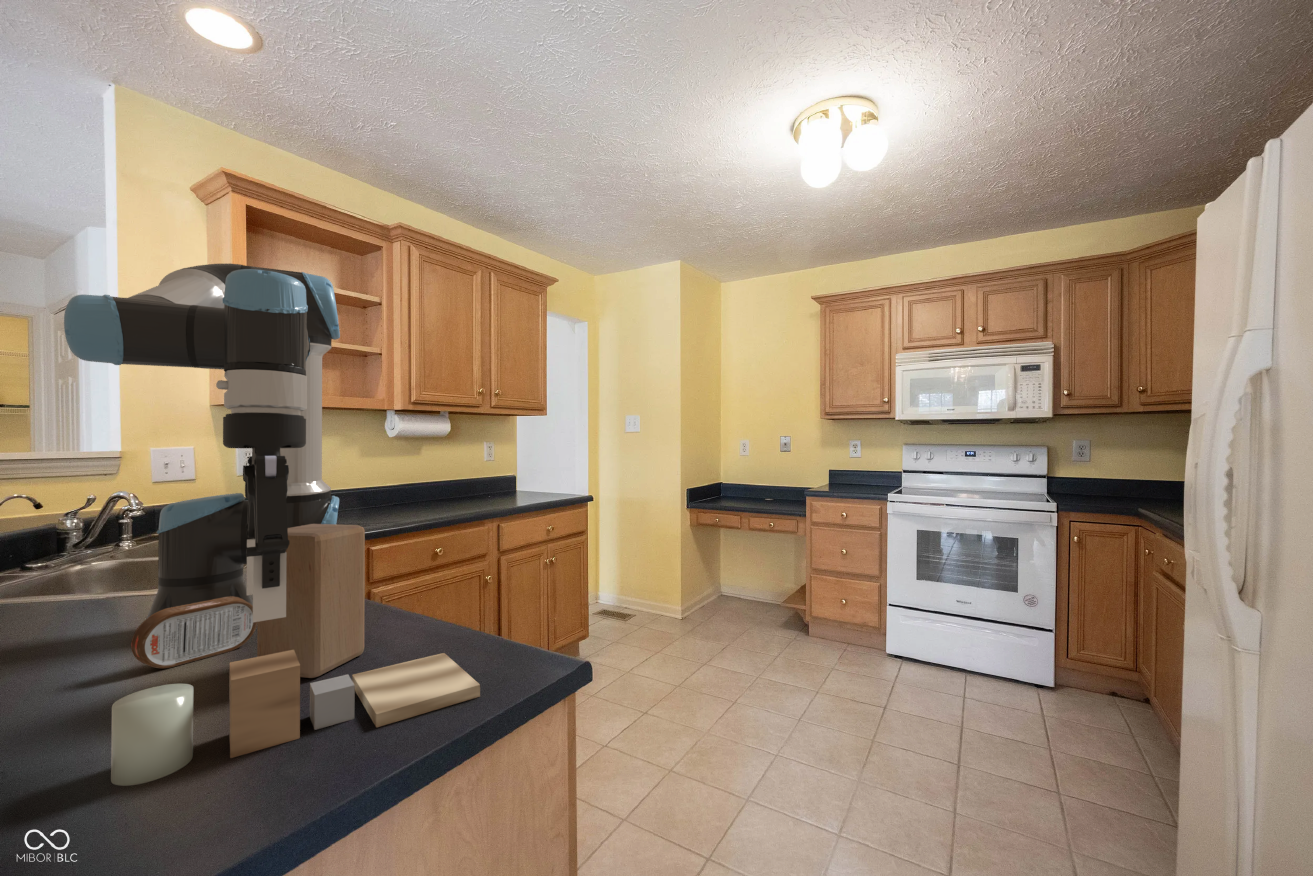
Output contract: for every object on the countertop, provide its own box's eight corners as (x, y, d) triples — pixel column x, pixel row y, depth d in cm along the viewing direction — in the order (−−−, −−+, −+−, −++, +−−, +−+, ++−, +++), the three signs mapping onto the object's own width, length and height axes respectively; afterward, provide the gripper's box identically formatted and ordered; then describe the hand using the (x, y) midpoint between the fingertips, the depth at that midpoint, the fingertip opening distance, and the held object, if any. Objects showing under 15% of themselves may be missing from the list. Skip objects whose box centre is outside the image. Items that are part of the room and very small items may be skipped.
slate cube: (309, 717, 64) (309, 683, 64) (348, 706, 67) (348, 674, 67) (314, 730, 61) (314, 695, 61) (354, 719, 64) (354, 685, 64)
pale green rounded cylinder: (115, 764, 55) (116, 694, 55) (193, 744, 59) (194, 678, 59) (106, 794, 50) (107, 717, 50) (191, 769, 54) (192, 698, 54)
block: (314, 681, 74) (315, 534, 74) (253, 675, 76) (254, 532, 76) (367, 654, 84) (367, 524, 84) (312, 649, 86) (312, 522, 86)
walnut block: (229, 734, 60) (229, 662, 61) (293, 717, 64) (293, 649, 64) (230, 758, 56) (230, 680, 56) (299, 738, 60) (300, 665, 60)
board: (352, 686, 73) (352, 674, 73) (444, 663, 80) (444, 652, 80) (376, 727, 62) (376, 714, 62) (480, 696, 69) (480, 684, 69)
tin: (251, 641, 90) (251, 590, 90) (260, 644, 88) (261, 592, 89) (129, 674, 77) (130, 614, 77) (138, 679, 75) (139, 618, 75)
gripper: (221, 418, 68) (220, 589, 67) (224, 402, 49) (222, 642, 48) (293, 420, 73) (292, 579, 72) (322, 406, 53) (321, 624, 53)
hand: (264, 605), depth 60 cm, fingers open, 13 cm apart
